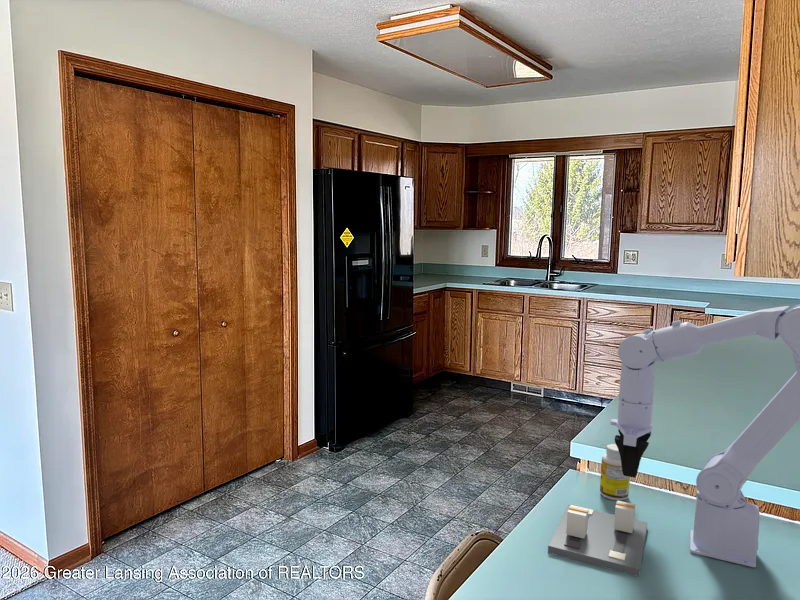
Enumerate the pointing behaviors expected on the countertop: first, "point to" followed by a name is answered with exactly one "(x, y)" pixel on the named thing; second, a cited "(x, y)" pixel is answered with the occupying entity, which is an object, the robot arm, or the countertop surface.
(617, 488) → the supplement bottle
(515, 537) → the countertop surface
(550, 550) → the switch unit
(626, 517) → the toggle
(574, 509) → the toggle
